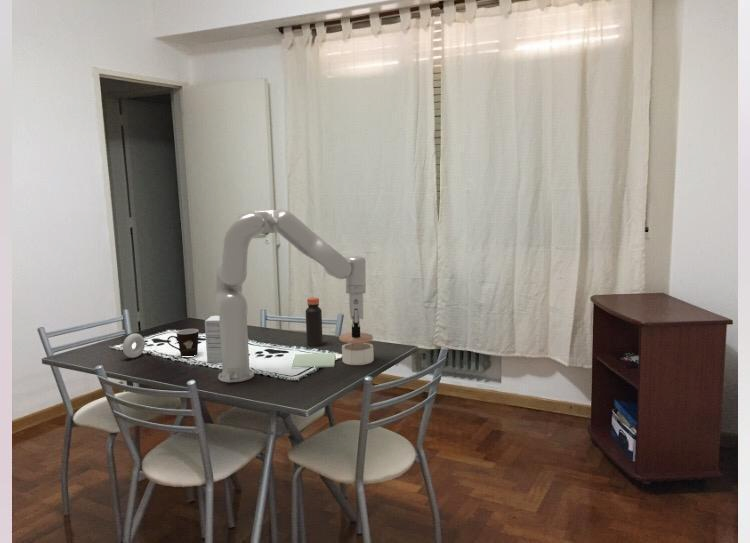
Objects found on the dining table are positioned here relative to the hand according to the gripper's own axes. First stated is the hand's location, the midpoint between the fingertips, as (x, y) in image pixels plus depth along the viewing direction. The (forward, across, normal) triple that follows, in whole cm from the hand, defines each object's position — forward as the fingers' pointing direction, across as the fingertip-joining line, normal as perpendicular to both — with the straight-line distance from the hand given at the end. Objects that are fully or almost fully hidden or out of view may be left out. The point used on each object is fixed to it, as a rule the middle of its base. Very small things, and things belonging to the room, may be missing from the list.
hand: (355, 335), depth 225 cm
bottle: (+10, +25, +17) cm, 32 cm away
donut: (+12, +14, +89) cm, 91 cm away
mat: (+10, +1, +16) cm, 19 cm away
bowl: (+10, 0, -1) cm, 10 cm away
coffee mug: (+12, +15, +69) cm, 72 cm away
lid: (+1, 0, 0) cm, 1 cm away
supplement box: (+11, +8, +53) cm, 55 cm away
